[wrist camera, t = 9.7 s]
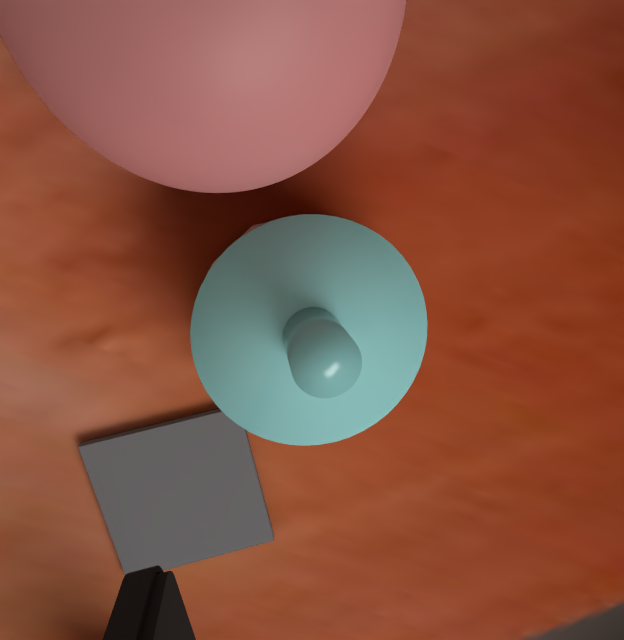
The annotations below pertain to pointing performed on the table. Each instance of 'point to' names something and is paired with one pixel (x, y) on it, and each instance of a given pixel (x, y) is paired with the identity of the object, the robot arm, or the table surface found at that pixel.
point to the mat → (178, 491)
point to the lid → (308, 329)
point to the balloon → (205, 80)
